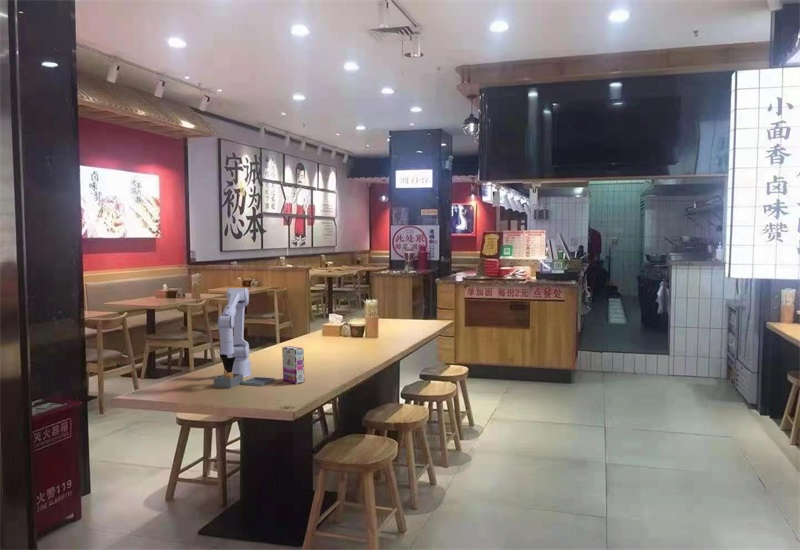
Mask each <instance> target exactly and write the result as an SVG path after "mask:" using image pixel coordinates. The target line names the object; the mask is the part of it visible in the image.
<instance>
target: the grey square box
mask: <svg viewBox="0 0 800 550" xmlns="http://www.w3.org/2000/svg"><path fill="white" fill-rule="evenodd" d="M243 381H244V378H243V374H233V377H232V378H224V373H223V374H220V375H217V376H214V377H213V388H223V389H233V388H235V387H238V386H240V385H241V382H243ZM241 386H242V385H241Z"/></svg>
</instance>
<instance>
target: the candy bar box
mask: <svg viewBox="0 0 800 550" xmlns="http://www.w3.org/2000/svg"><path fill="white" fill-rule="evenodd" d="M281 348H282V349H281V353H282V379H283V382H286V383H291V384H294V385H298V384H304V383H305V361H304V360H305V358H304V357H305V356H304V355H305V354H304V347H300V346H299V347H298V346H293V345H289V346H288V345H286V346H282V347H281Z"/></svg>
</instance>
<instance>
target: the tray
mask: <svg viewBox="0 0 800 550" xmlns="http://www.w3.org/2000/svg"><path fill="white" fill-rule="evenodd" d="M275 380H276V379H275V377H265V376H264V377H262V376H261V377H260V376H253V377H251V378H248V379H245V380H243V382H241V386H251V387H253V386H255V387H263V386H265V385H268V384H271V383H272V382H275Z"/></svg>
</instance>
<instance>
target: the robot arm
mask: <svg viewBox="0 0 800 550" xmlns="http://www.w3.org/2000/svg"><path fill="white" fill-rule="evenodd" d="M249 299H250V291H249V289H248V287H235V288H233V287H231V288H230V287H229V288H227V289H226V300H227V305H225V306H224V307H223V311H222V314H221V315H220V316H219V317H217V327H218V332H219V339H220V341H219V342H220V343H219V345H220V350H219V351H218V352H217V353H218V354H219V357H220V358H221V361H222V364H223V365H222V366H223V368H224V370H226V371H227V373H230V372H232V370H233V374H243V379H244V378H246V377H248V376H249V377H250V376H253V374H252V368H251V361H250V359H249V357H250V344H249V342H248V341H246V340H245V339H244V338H245V337H244V333H245V332H244V330H245V328H244V327H245V310H246V309H245V308H246V307H247V306H248V305H249V302H250V300H249Z"/></svg>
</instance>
